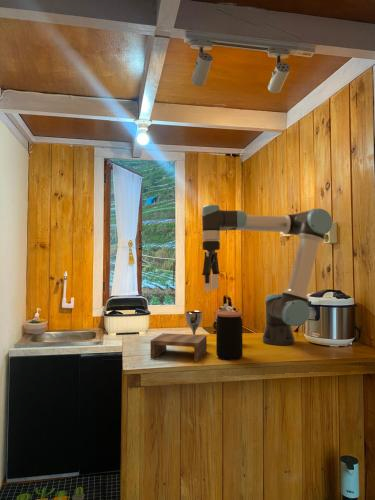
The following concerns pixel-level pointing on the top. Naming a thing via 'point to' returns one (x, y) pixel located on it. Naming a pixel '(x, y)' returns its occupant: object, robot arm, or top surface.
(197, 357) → the walnut shelf
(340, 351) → the top surface
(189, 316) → the wine glass
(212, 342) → the top surface
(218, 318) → the coffee jar
